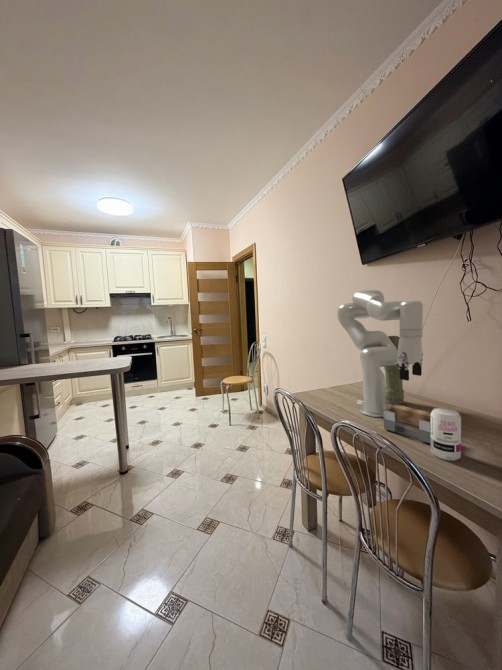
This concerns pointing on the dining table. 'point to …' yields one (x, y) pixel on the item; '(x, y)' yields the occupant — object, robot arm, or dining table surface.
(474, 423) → the dining table surface
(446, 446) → the supplement can
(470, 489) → the dining table surface
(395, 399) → the thermos
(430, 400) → the dining table surface
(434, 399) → the dining table surface
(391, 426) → the bracket stand
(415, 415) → the brown wooden block
